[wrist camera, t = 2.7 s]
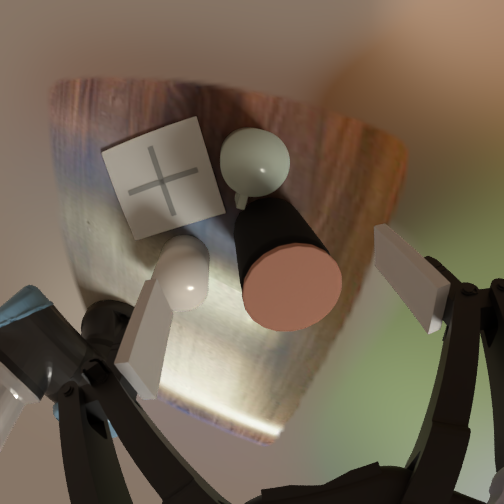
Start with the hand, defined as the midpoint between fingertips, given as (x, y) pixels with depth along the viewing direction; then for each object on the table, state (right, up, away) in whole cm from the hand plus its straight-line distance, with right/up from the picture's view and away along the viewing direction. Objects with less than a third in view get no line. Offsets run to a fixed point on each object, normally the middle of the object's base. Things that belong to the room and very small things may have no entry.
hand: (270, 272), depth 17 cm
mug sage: (-2, +14, +24) cm, 28 cm away
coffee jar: (+1, +5, +29) cm, 30 cm away
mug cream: (-13, 0, +30) cm, 32 cm away
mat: (-14, +12, +24) cm, 30 cm away
